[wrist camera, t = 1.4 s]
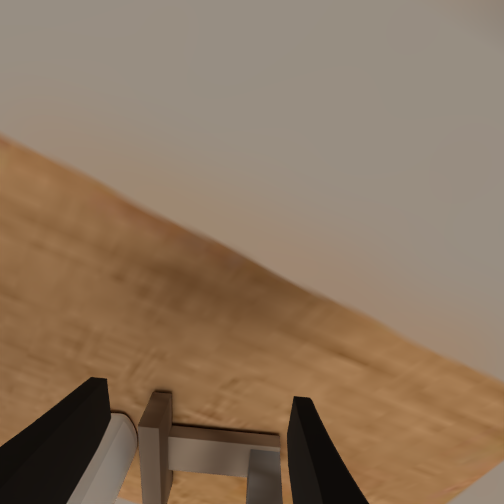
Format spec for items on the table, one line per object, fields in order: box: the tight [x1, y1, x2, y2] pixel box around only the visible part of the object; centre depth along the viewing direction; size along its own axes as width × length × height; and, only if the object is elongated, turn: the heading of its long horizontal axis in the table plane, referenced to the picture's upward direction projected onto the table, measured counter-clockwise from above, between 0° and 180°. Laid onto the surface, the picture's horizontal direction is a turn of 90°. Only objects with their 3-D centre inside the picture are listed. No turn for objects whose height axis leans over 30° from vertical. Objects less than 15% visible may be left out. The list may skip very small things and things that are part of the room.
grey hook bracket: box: [138, 392, 283, 504], centre depth 22 cm, size 11×11×5 cm
